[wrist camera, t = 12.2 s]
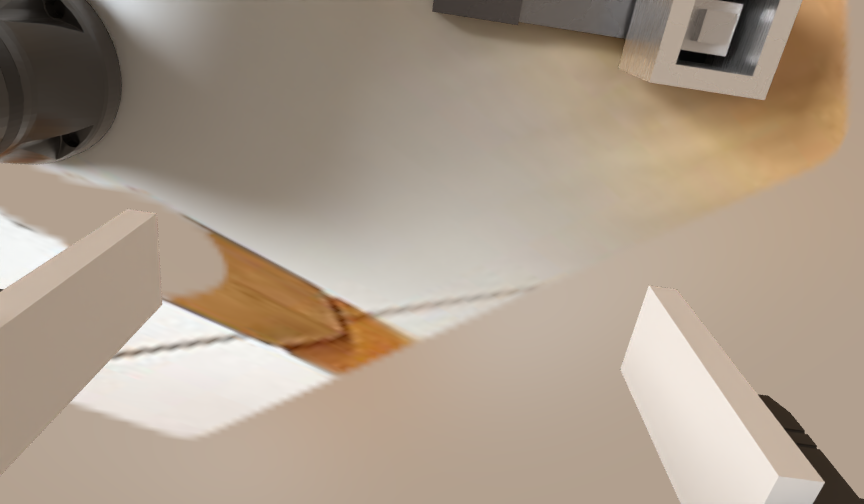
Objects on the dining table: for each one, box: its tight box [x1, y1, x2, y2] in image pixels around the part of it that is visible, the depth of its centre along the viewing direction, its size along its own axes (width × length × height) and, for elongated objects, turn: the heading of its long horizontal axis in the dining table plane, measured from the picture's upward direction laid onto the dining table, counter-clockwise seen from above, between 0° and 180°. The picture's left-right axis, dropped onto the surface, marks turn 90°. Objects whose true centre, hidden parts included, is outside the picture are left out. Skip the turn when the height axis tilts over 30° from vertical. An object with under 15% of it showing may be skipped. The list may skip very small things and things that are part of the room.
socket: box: [618, 0, 802, 100], centre depth 35 cm, size 7×7×7 cm
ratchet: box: [432, 0, 743, 63], centre depth 37 cm, size 20×6×8 cm, turn 82°
